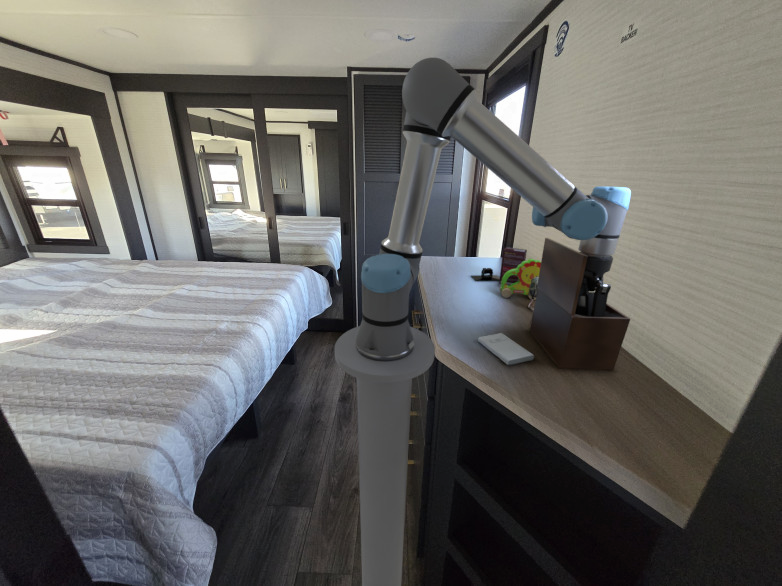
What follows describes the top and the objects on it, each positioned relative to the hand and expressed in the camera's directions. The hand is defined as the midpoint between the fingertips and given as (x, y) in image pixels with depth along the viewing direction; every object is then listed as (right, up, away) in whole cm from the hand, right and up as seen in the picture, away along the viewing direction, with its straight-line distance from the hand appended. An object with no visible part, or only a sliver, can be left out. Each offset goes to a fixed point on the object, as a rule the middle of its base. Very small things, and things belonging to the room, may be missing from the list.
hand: (573, 335), depth 84 cm
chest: (-1, -4, +1) cm, 4 cm away
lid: (-7, +16, -6) cm, 19 cm away
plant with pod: (+3, +5, +25) cm, 26 cm away
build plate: (-6, +18, +57) cm, 60 cm away
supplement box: (+1, +14, +48) cm, 51 cm away
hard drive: (-19, -4, 0) cm, 19 cm away
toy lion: (+1, +10, +37) cm, 38 cm away
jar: (0, -2, +1) cm, 2 cm away
